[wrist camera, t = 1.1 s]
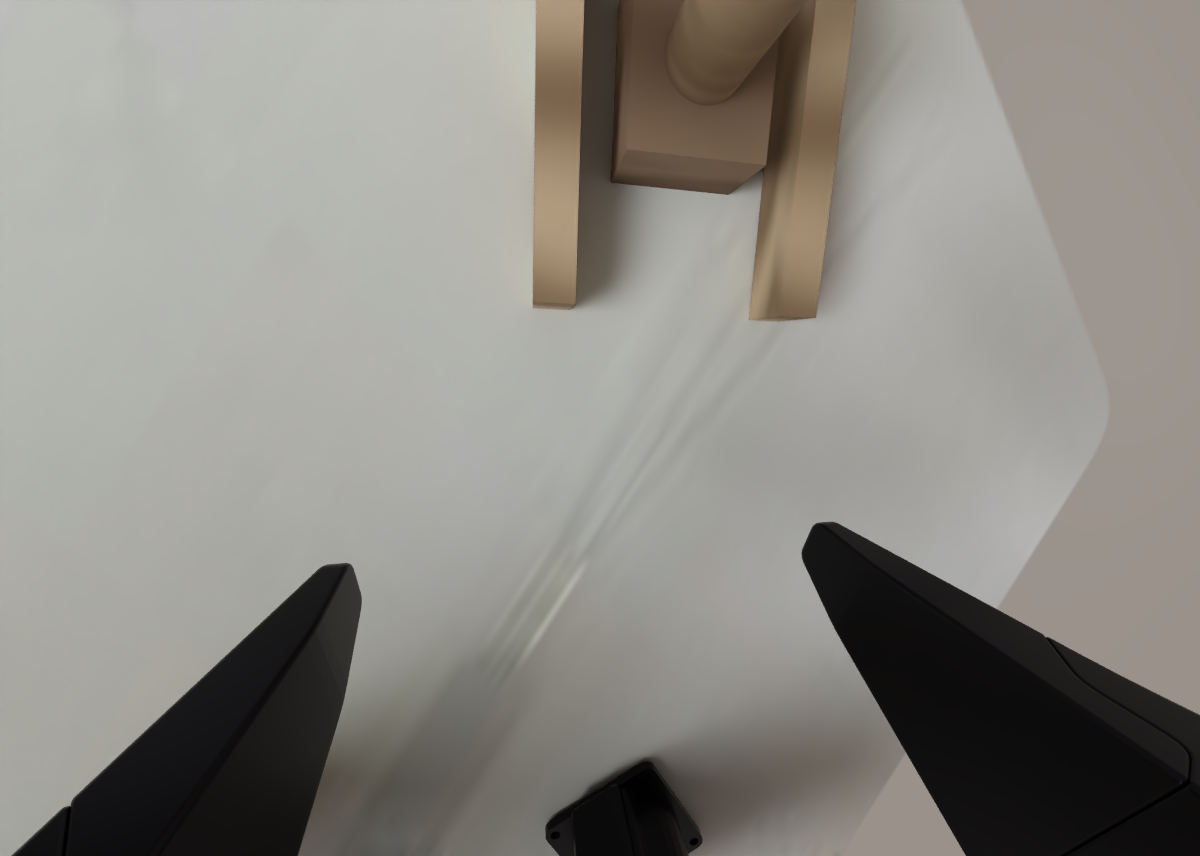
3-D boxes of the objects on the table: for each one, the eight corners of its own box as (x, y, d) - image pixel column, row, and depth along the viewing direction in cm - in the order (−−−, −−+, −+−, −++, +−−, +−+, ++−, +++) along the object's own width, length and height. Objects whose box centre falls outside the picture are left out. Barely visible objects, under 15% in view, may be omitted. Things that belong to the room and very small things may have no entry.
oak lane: (779, 321, 19) (815, 317, 17) (532, 307, 18) (533, 301, 15) (819, -32, 17) (868, -95, 14) (537, -88, 15) (538, -171, 13)
